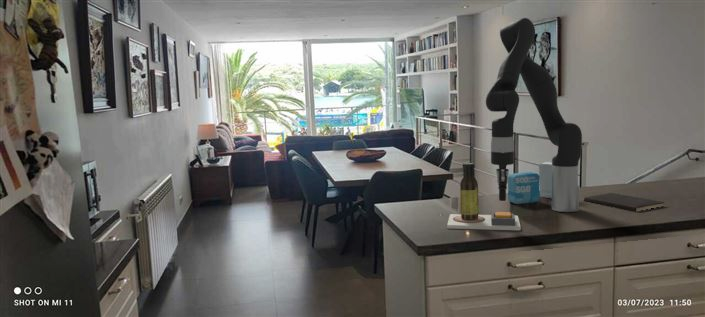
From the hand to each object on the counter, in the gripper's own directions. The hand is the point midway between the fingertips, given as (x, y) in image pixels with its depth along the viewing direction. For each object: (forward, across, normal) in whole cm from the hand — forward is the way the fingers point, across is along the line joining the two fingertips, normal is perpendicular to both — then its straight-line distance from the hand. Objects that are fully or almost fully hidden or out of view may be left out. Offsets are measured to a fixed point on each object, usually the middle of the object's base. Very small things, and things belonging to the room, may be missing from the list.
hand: (502, 200), depth 176 cm
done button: (+7, 0, 0) cm, 7 cm away
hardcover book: (+10, -39, +47) cm, 62 cm away
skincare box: (+9, -51, +22) cm, 56 cm away
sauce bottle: (+8, -4, -11) cm, 14 cm away
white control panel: (+9, -3, -6) cm, 11 cm away
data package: (+9, -40, +10) cm, 42 cm away
